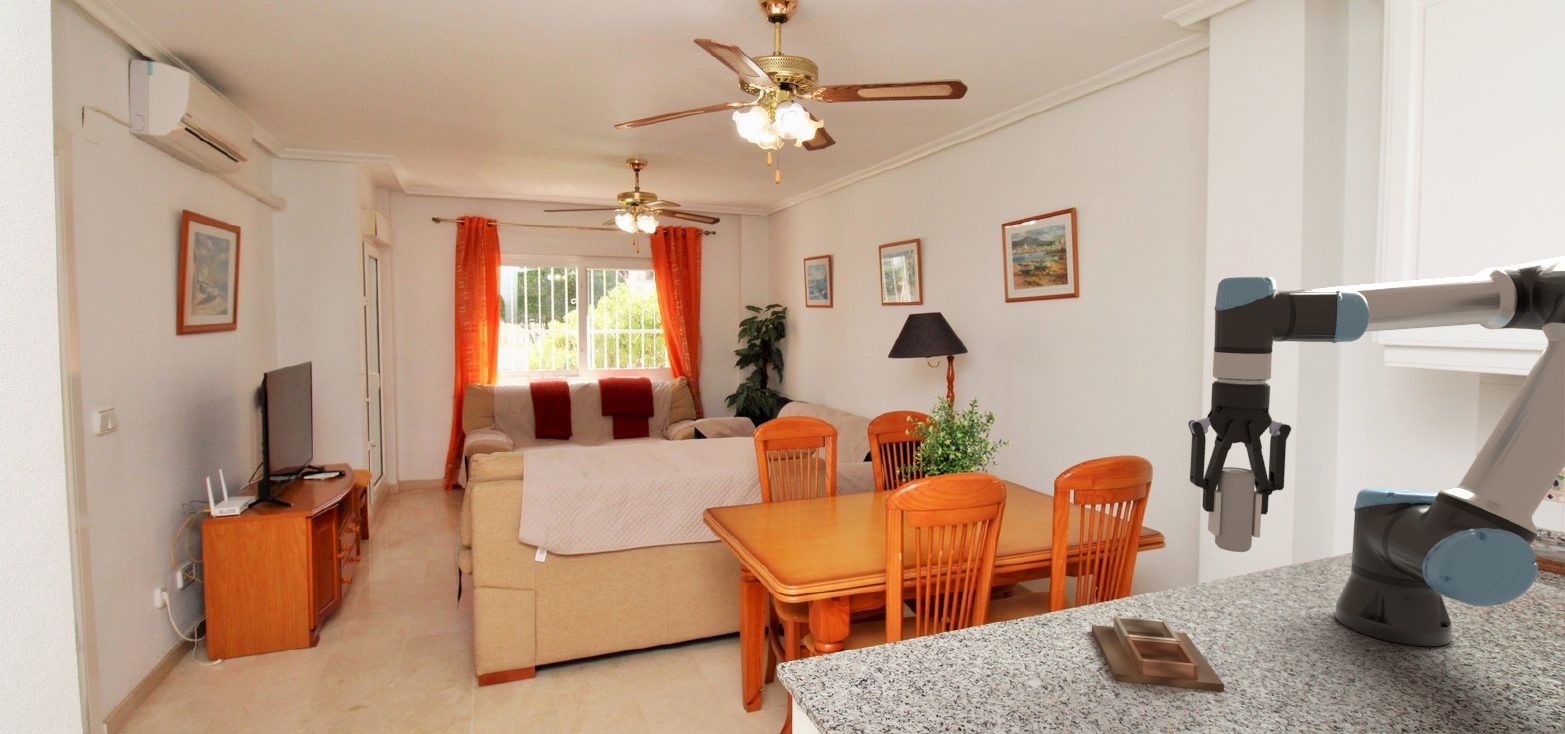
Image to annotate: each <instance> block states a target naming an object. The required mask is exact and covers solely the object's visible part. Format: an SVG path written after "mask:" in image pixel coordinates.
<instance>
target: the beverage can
mask: <svg viewBox="0 0 1565 734" xmlns="http://www.w3.org/2000/svg"><path fill="white" fill-rule="evenodd" d="M1216 490H1218V491H1219V492H1221V512H1220V533H1219V535H1214V543H1215V545H1216V546H1217V547H1218V548H1219V549H1221V550H1223V551H1227V552H1234V553H1235V552H1236V553H1245V552H1248V551H1250V550H1251V548H1252V540H1253V539H1252V538H1253V536H1252V525H1253V505H1254V490H1255V476H1254V471H1252V470H1251V469H1248V468H1242V467H1233V466H1232V467H1231V466H1226V467H1224V466H1223V469H1222V472H1221V475H1220V478H1219V481H1218V484H1217V488H1216Z"/></svg>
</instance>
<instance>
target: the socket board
mask: <svg viewBox="0 0 1565 734" xmlns="http://www.w3.org/2000/svg"><path fill="white" fill-rule="evenodd" d="M1091 633H1092V634H1093V637H1094V640H1095V641H1096V643H1097V645H1098V648H1099V650H1100V652H1101V654H1102V656H1103V659H1104V660H1105V662H1106V665H1107V667H1108V670H1109V672H1110V673H1111V675H1112V678H1113V680H1114V681H1115V682H1116V681H1117V682H1125V683H1136V684H1145V685H1147V684H1148V685H1156V686H1165V687H1177V688H1187V689H1196V690H1197V689H1199V690H1208V691H1218V692H1224V691H1225V682H1223V681H1222V679H1221V678H1220V677H1219V676H1218V674H1217V673H1216V671H1215V670H1214V669H1213V668H1212V666H1211V665H1210V664H1209V662H1208V660H1206V658H1205V657H1204V655H1203V654H1202V652H1200V650H1199V649H1198V647H1197V646H1196V644H1195V643H1194V642H1193V641H1192V639H1191V638H1190V637H1189V636H1188V634H1187V633H1186V632H1178V631H1176V632H1175V631H1174V630H1173V628H1172V627H1171V626H1170V625H1169V623H1168V621H1167V620H1165V619H1164V620H1163V619H1155V618H1153V619H1152V618H1141V617H1139V618H1138V617H1128V616H1119V615H1118V616H1116V615H1114V616H1113V626H1106V625H1095V624H1092V625H1091Z"/></svg>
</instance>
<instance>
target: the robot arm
mask: <svg viewBox="0 0 1565 734" xmlns="http://www.w3.org/2000/svg"><path fill="white" fill-rule="evenodd" d="M1276 283H1277V282H1276V280H1275V279H1274V277H1270V276H1265V277H1264V276H1261V277H1260V276H1246V277H1245V276H1242V277H1241V276H1239V277H1237V276H1236V277H1226V278H1223V279H1222V280H1220V281H1219V283H1218V285H1217V290H1216V296H1215V303H1214V304H1215V306H1214V347H1213V359H1212V360H1213V362H1212V363H1213V365H1212V377H1213V378H1214V379H1216V380H1215V381H1213V383H1211V399H1210V400H1211V402H1210V403H1211V404H1210V405H1211V406H1210V411H1209V413H1208V414H1207V416H1206V417H1205V418H1202V419H1198V420H1194V419H1190V420H1189V421H1188V428H1189V430H1190V433H1191V446H1190V447H1191V451H1190V468H1189V469H1190V470H1189V481H1190V483H1191V484H1192V485H1194V486H1195V487H1196V488H1197V487H1198V488H1201V489H1202V508H1203V510H1204V511H1205V512H1206V513H1207V512H1208V519H1207V531H1208V532H1210V533H1211V534H1212V535H1214V536H1215V535H1219V533H1220V512H1221V492H1219V491H1218V490H1217V486H1218V481H1219V478H1220V475H1221V472H1222V469H1223V467H1224V466H1225V463H1226V460H1227V458H1228V457H1227V456H1228V453H1229V451H1230V450H1231V448H1232V445H1233V444H1238V443H1243V444H1244V445H1243V446H1245V449H1246V452H1247V456H1248V461H1249V465H1250V470H1252V471H1254V476H1255V485H1254V505H1253V525H1252V538H1253V537H1254V538H1260V537H1261V525H1262V524H1261V521H1262V515H1267V514H1268V511H1269V499H1270V497H1269V496H1271V495H1272V494H1273V492H1275V491H1282V490H1284V488H1285V473H1286V471H1285V469H1286V450H1287V440H1288V438H1289V436H1290V433H1291V432H1292V427H1291V425H1289V424H1287V423H1283V422H1281V421H1279V422H1277V421H1275V420H1273V418H1272V417H1271V415H1270V412H1269V411H1270V410H1269V409H1270V400H1271V399H1270V398H1271V385H1270V384H1269V383H1267V381H1269V380H1271V379H1272V359H1273V358H1272V357H1273V345H1274V344H1273V343H1274V342H1299V343H1300V342H1303V343H1304V342H1305V343H1333V344H1337V343H1342V342H1343V343H1346V342H1347V343H1348V342H1355V341H1357V340H1359V339H1360V338H1361V337H1363V335H1364V334H1365V333H1366V332H1380V331H1395V330H1409V329H1411V330H1412V329H1423V328H1439V327H1453V326H1454V327H1455V326H1467V325H1468V326H1469V325H1480V327H1483V328H1485V329H1489V330H1502V329H1503V330H1504V329H1520V330H1535V331H1542V333H1544V335H1545V338H1546V339H1547V344H1546V346H1545V347H1544V349H1543V351H1542V353H1540V356H1539V357H1538V359H1537V361H1536V362H1535V364H1534V365H1533V366H1532V368H1531V370H1530V371H1529V373H1528V375H1527V376H1526V378H1525V380H1524V381H1523V383H1522V384H1521V386H1520V387H1519V389H1518V391H1517V392H1516V394H1515V395H1514V397H1513V398H1512V401H1510V403H1509V404H1508V406H1507V408H1506V410H1505V411H1504V413H1503V414H1502V416H1501V418H1500V419H1499V421H1498V423H1496V425H1495V427H1494V429H1493V431H1492V432H1491V434H1490V435H1489V436H1488V438H1487V440H1486V441H1485V443H1484V444H1483V446H1482V448H1481V449H1480V451H1479V453H1478V455H1477V456H1476V458H1475V459H1474V461H1472V464H1471V465H1470V467H1469V469H1468V470H1467V472H1466V474H1465V475H1464V477H1462V480H1461V481H1460V483H1459V484H1458V485H1457V486H1454V487H1450V488H1447V489H1442V490H1440V491H1438V492H1434V491H1427V490H1416V489H1415V490H1414V489H1404V488H1391V487H1390V488H1388V487H1387V488H1384V487H1383V488H1382V487H1369V488H1363V489H1361V490H1359V492H1357V495H1356V501H1355V504H1354V508H1353V511H1354V519H1353V520H1354V523H1353V536H1352V552H1351V553H1352V555H1351V570H1350V574H1349V576H1348V579H1347V581H1346V582H1345V584H1344V587H1343V589H1342V590H1341V592H1340V594H1339V597H1338V598H1337V600H1336V603H1335V610H1334V611H1335V613H1334V617H1335V619H1336V620H1337V621H1338V622H1339V623H1340V624H1342V625H1343V626H1345V627H1347V628H1348V629H1350V630H1353V631H1355V632H1358V633H1361V634H1364V635H1367V636H1369V637H1373V638H1376V639H1379V640H1383V641H1387V642H1393V643H1398V644H1403V645H1409V646H1417V647H1419V646H1420V647H1439V646H1440V647H1441V646H1445V645H1448V644H1450V643H1451V642H1452V637H1453V636H1452V634H1453V624H1452V622H1451V618H1450V615H1449V612H1448V609H1447V605H1446V603H1445V600H1444V599H1445V598H1444V597H1446V598H1448V599H1452V600H1455V601H1458V602H1459V603H1462V604H1465V605H1469V606H1473V607H1481V608H1482V607H1484V608H1487V607H1494V606H1498V605H1499V606H1500V605H1504V604H1507V603H1508V604H1509V603H1510V602H1513V601H1514V600H1517V599H1518V598H1520V597H1521V596H1522V595H1524V594H1525V593H1526V592H1528V591H1529V589H1531V587H1532V586H1533V584H1534V583H1535V582H1536V581H1535V580H1536V578H1537V575H1538V572H1539V571H1538V570H1539V564H1538V563H1537V562H1536V559H1537V555H1536V554H1537V553H1535V550H1534V549H1533V547H1532V546H1531V545H1532V543H1534V541H1535V539H1536V538H1537V537H1538V534H1539V532H1538V529H1537V527H1536V525H1535V523H1534V521H1533V516H1534V514H1535V512H1536V511H1537V509H1538V508H1539V506H1540V505H1541V503H1542V502H1543V500H1544V498H1545V497H1546V496H1547V494H1548V493H1549V490H1550V489H1551V488H1552V486H1553V484H1554V483H1555V482H1556V479H1557V478H1558V476H1559V475H1560V473H1561V472H1562V470H1563V469H1564V468H1565V256H1559V257H1553V258H1548V259H1543V260H1538V261H1532V262H1527V263H1523V264H1516V265H1510V266H1503V267H1491V268H1485V269H1483V270H1481V271H1480V272H1478V273H1477V274H1476V275H1473V276H1472V275H1470V276H1461V277H1460V276H1459V277H1457V276H1456V277H1444V278H1434V279H1421V280H1420V279H1419V280H1410V281H1409V280H1407V281H1398V282H1396V281H1395V282H1386V283H1385V282H1383V283H1372V284H1359V285H1347V286H1334V287H1325V288H1324V287H1323V288H1321V287H1320V288H1312V289H1311V288H1310V289H1297V290H1278V288H1277V286H1276V285H1277V284H1276ZM1210 426H1211V428H1212V429H1213V431H1214V432H1215V434H1216V437H1215V439H1214V447H1213V449H1212V451H1211V452H1212V453H1211V455H1210V459H1209V462H1208V465H1207V468H1206V471H1205V464H1206V463H1205V462H1206V459H1205V458H1206V445H1207V444H1206V441H1207V439H1206V434H1207V433H1208V432H1209V427H1210ZM1268 429H1269V431H1268V433H1269V434H1270V440H1269V461H1268V462H1269V463H1268V472H1267V469H1266V468H1267V467H1266V464H1265V460H1264V456H1263V451H1262V449H1263V445H1262V441H1261V436H1262V435H1263V434H1264V433H1265V432H1266V431H1267V430H1268Z"/></svg>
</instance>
